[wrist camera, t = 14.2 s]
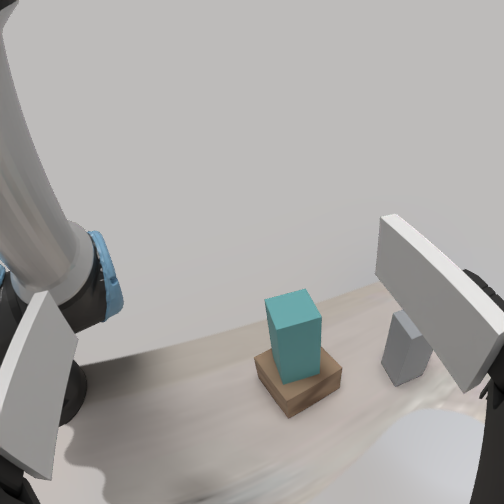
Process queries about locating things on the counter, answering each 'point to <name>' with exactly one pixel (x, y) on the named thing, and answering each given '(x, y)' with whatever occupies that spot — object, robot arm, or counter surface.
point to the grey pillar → (405, 350)
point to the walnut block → (298, 383)
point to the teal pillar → (294, 335)
